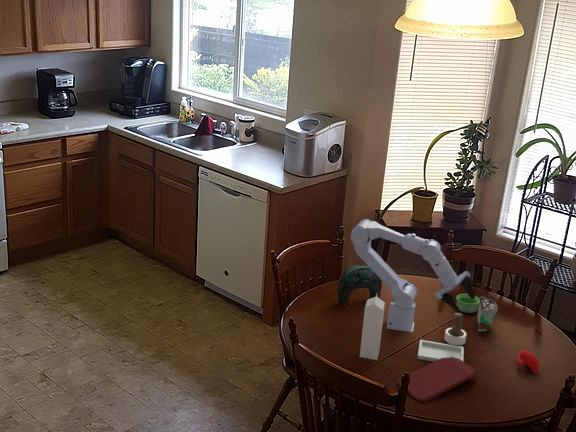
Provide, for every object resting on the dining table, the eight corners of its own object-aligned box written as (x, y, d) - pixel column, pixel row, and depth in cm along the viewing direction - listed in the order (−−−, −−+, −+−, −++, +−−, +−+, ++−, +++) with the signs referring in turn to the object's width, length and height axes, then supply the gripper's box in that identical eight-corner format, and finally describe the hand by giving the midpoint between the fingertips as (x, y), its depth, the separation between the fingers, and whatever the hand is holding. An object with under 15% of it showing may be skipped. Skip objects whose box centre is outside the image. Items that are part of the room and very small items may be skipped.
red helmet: (510, 358, 236) (525, 357, 231) (518, 347, 239) (533, 346, 235) (522, 377, 237) (537, 376, 232) (530, 366, 241) (545, 365, 236)
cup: (444, 344, 249) (445, 335, 248) (444, 334, 256) (446, 326, 254) (464, 347, 247) (466, 339, 246) (464, 338, 254) (466, 329, 253)
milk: (359, 357, 237) (365, 298, 230) (362, 348, 243) (367, 290, 235) (377, 360, 236) (383, 301, 229) (379, 351, 242) (386, 293, 234)
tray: (417, 359, 238) (417, 355, 237) (419, 344, 248) (420, 339, 247) (462, 367, 235) (463, 363, 234) (462, 351, 245) (463, 347, 244)
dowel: (450, 341, 250) (454, 316, 247) (450, 337, 253) (454, 312, 250) (459, 342, 249) (463, 317, 246) (459, 338, 252) (463, 313, 249)
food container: (495, 337, 256) (499, 312, 253) (477, 334, 257) (482, 310, 254) (492, 321, 268) (497, 297, 264) (476, 319, 269) (480, 295, 265)
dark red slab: (420, 413, 216) (479, 382, 227) (420, 400, 214) (480, 370, 225) (395, 393, 225) (453, 364, 237) (394, 380, 223) (453, 352, 235)
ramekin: (481, 307, 278) (483, 297, 277) (474, 316, 271) (475, 306, 270) (459, 301, 283) (461, 291, 281) (451, 309, 275) (453, 299, 274)
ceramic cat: (377, 294, 284) (382, 248, 277) (386, 301, 278) (391, 255, 272) (334, 301, 276) (338, 254, 269) (341, 308, 270) (346, 260, 264)
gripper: (434, 283, 241) (455, 316, 242) (465, 260, 245) (486, 292, 246) (425, 283, 248) (445, 315, 249) (455, 261, 252) (475, 292, 253)
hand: (465, 304), depth 248 cm, fingers open, 7 cm apart
